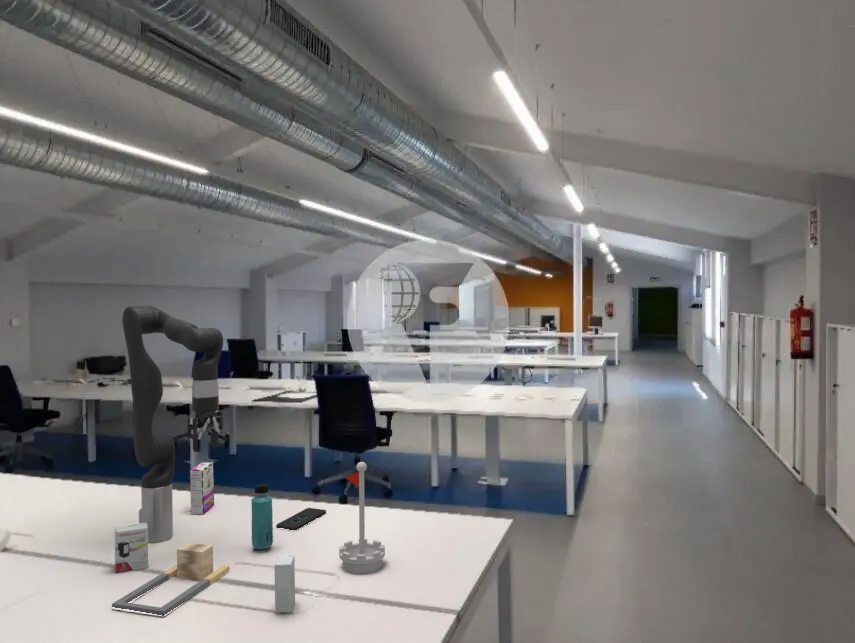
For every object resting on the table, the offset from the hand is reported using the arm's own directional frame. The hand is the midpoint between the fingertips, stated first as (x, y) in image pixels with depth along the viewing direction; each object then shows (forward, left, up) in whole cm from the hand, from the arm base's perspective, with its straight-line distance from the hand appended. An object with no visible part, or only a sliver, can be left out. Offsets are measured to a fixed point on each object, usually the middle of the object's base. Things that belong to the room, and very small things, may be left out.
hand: (205, 448), depth 190 cm
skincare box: (+39, -24, -32) cm, 56 cm away
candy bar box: (-27, +36, -32) cm, 55 cm away
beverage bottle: (+14, +8, -32) cm, 36 cm away
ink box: (-15, -14, -32) cm, 38 cm away
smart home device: (+14, +35, -33) cm, 50 cm away
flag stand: (+48, +5, -32) cm, 58 cm away
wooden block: (+6, -14, -32) cm, 35 cm away
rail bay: (+6, -22, -32) cm, 39 cm away
